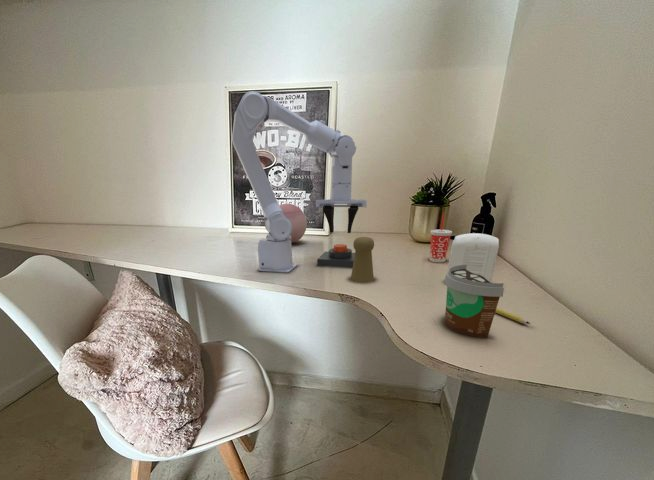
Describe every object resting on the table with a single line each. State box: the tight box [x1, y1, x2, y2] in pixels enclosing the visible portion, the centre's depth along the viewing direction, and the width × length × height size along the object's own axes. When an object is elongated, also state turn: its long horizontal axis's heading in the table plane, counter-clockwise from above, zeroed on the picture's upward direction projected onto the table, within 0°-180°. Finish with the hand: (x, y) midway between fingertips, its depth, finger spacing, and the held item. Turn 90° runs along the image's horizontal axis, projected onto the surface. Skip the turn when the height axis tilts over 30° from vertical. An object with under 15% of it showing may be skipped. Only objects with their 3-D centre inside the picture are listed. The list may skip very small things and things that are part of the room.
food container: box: [443, 265, 505, 338], centre depth 59 cm, size 12×6×10 cm, turn 5°
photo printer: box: [446, 232, 500, 283], centre depth 80 cm, size 10×4×12 cm, turn 72°
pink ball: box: [279, 203, 308, 244], centre depth 129 cm, size 15×15×15 cm
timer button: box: [333, 243, 348, 252], centre depth 102 cm, size 4×4×2 cm
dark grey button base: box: [316, 247, 355, 269], centre depth 103 cm, size 12×10×4 cm
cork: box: [350, 236, 375, 283], centre depth 86 cm, size 6×6×11 cm
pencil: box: [495, 307, 531, 325], centre depth 66 cm, size 1×14×1 cm, turn 23°
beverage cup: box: [429, 213, 453, 263], centre depth 101 cm, size 6×6×14 cm
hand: (340, 232), depth 100 cm, fingers open, 5 cm apart
